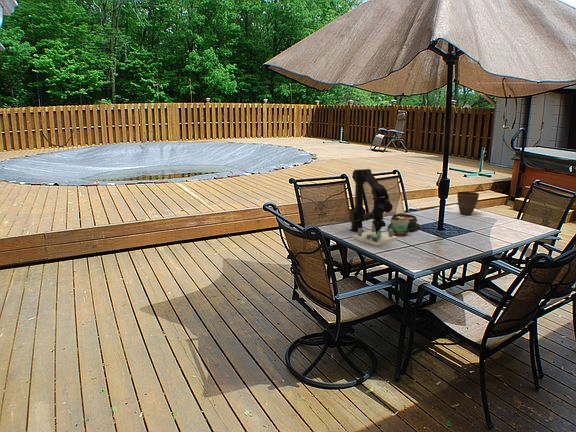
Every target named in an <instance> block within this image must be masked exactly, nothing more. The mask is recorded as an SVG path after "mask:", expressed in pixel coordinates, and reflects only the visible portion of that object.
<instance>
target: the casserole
mask: <svg viewBox="0 0 576 432" xmlns="http://www.w3.org/2000/svg"><path fill="white" fill-rule="evenodd" d="M407 218H408V219H409V223H408V227H407V232H408V231H413V230H416V229H419V227H420V226H421V224H420V223H418V219H417V216H415V215H413V214H408V213H397V214H392V216H391V218H390V220H391V219H392V220H399V219H401V220H406V219H407ZM387 229H388V230H389V229H391V222H390V223H389V224H388V225H387Z"/></svg>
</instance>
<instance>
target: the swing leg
mask: <svg viewBox="0 0 576 432" xmlns="http://www.w3.org/2000/svg"><path fill="white" fill-rule="evenodd" d="M381 232H382V230H380V231H377V237H374V236H371V235H367V238H368V239H372V238H377V239H378V240H379V238H381Z"/></svg>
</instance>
